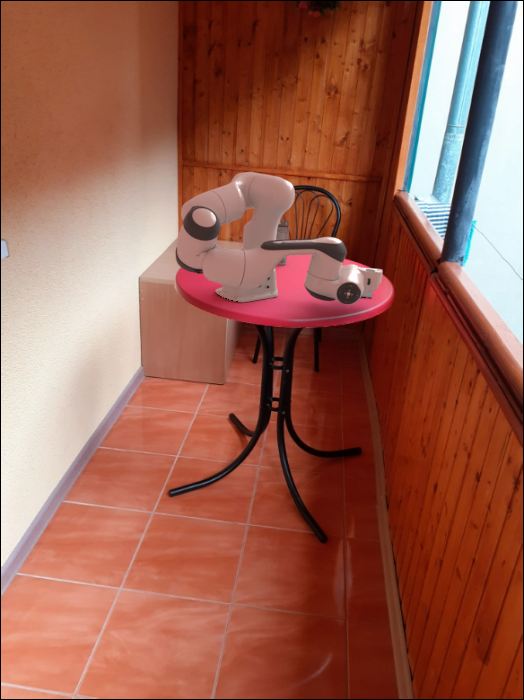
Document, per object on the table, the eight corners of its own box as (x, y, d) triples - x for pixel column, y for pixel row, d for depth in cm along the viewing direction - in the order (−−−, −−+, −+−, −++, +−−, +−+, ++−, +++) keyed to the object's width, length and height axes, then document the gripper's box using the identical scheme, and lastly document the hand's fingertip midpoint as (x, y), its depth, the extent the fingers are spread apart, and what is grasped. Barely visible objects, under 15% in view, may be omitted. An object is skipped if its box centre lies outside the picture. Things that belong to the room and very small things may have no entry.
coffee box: (270, 258, 238) (272, 220, 232) (286, 259, 239) (288, 221, 232) (270, 264, 230) (272, 224, 224) (286, 265, 230) (289, 225, 224)
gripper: (317, 285, 183) (320, 273, 196) (381, 291, 180) (380, 279, 193) (318, 266, 180) (322, 255, 193) (383, 272, 178) (383, 261, 190)
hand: (352, 267), depth 193 cm, fingers closed
